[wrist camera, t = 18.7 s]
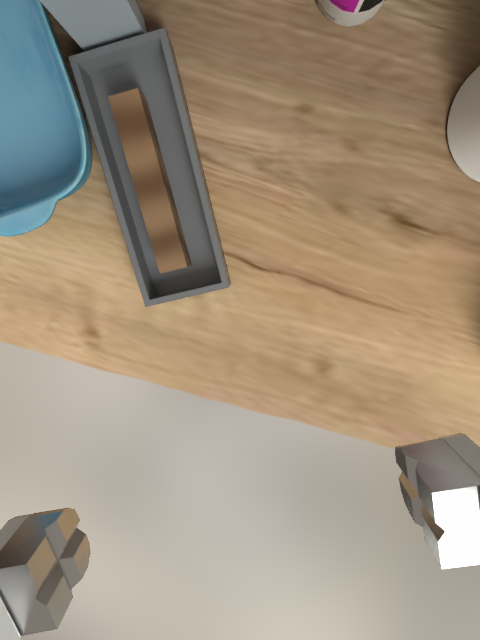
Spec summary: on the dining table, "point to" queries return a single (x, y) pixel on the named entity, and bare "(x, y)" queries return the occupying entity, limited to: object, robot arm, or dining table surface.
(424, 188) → the dining table surface
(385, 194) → the dining table surface
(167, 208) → the walnut block
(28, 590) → the robot arm
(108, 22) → the slate stand
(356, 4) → the supplement can
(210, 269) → the charcoal tray
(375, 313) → the dining table surface
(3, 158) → the casserole dish
